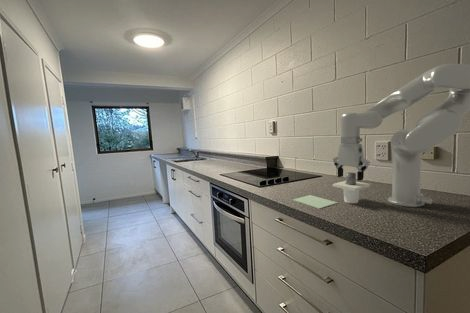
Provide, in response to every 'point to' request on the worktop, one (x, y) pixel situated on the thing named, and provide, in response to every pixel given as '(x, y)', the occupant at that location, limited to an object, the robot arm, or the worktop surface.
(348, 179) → the lid
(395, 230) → the worktop surface
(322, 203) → the mat
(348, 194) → the white cup
